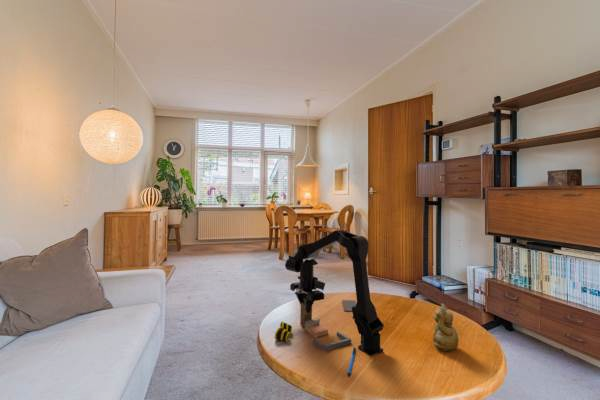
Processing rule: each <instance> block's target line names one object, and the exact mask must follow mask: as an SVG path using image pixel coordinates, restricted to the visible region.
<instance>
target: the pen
mask: <svg viewBox="0 0 600 400" xmlns="http://www.w3.org/2000/svg"><path fill="white" fill-rule="evenodd" d="M356 350H357V348H356V347H355V346H354V347H353V350H352V352H351V358H350V362H349V366H348V371H347V378H350V376H352V375H351V374H352V370H353V369H352V368H353V365H354V360H355V354H356Z"/></svg>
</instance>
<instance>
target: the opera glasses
mask: <svg viewBox="0 0 600 400" xmlns="http://www.w3.org/2000/svg"><path fill="white" fill-rule="evenodd" d="M292 331H293V324H289V323H288V322H287V323H286V322H284V321H283V320H281V322H280V325H279V327H278V328H277V329H276V331H275V333H274V340H275V341H278V340H280V341H282V342H283V341H284V342H288V341H289V339H290V336H292Z"/></svg>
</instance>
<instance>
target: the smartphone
mask: <svg viewBox="0 0 600 400" xmlns="http://www.w3.org/2000/svg"><path fill="white" fill-rule="evenodd" d="M341 303H342V306H343V307H342V309H343V311H344V312H345V313H346V312H348V313H353V312H352V307H353V306H355V305H356V303H357V301H356V300H348V299H342V300H341Z"/></svg>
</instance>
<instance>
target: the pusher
mask: <svg viewBox="0 0 600 400" xmlns="http://www.w3.org/2000/svg"><path fill="white" fill-rule="evenodd" d="M299 317H300V318H299V321H300V325H301V326H302V327H304V330H305V331H306V332H307V327H310V326H314V325H319V324H320V323H321V322H320V319H319V318H313V307H312V308H311V311H310V313H307V310H306V306H305V302H301V305H300V315H299Z"/></svg>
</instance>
